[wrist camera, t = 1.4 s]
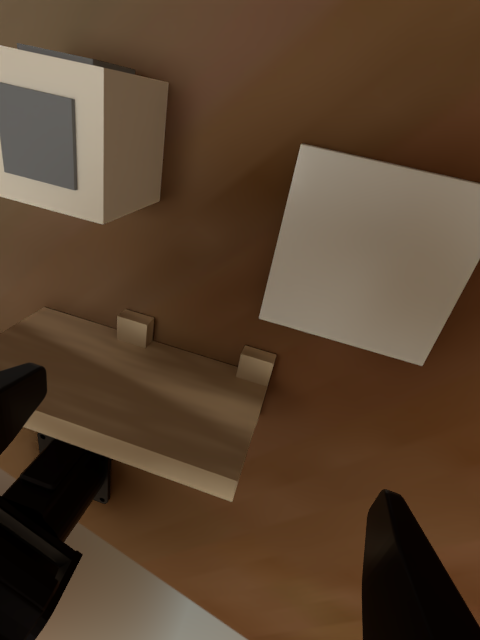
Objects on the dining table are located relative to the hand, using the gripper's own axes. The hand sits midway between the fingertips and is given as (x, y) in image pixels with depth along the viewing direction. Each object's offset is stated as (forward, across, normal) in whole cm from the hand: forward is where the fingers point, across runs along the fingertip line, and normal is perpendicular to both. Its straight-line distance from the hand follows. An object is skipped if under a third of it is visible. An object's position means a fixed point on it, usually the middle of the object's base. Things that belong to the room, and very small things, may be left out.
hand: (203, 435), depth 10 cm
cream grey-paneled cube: (+13, +10, -4) cm, 17 cm away
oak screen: (+13, +7, +8) cm, 16 cm away
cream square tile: (+12, -4, -2) cm, 13 cm away
